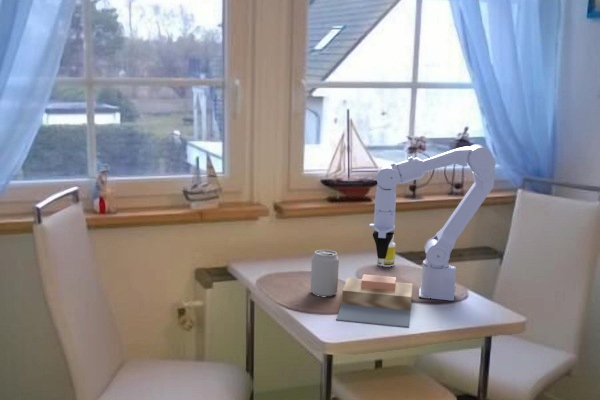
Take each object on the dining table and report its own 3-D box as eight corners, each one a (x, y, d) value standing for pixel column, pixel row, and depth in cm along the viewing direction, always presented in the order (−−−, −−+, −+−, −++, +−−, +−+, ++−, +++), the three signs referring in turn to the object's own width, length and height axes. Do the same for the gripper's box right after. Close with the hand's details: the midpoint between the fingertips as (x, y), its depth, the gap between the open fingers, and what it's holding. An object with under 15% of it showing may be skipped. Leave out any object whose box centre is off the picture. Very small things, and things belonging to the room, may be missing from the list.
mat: (410, 311, 190) (410, 310, 190) (408, 327, 178) (409, 326, 178) (341, 304, 193) (341, 303, 193) (336, 320, 181) (336, 319, 181)
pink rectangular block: (395, 284, 199) (396, 277, 199) (394, 290, 194) (395, 283, 193) (363, 281, 201) (363, 274, 200) (361, 287, 195) (361, 280, 195)
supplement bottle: (397, 264, 234) (399, 235, 232) (389, 268, 229) (391, 238, 227) (381, 261, 236) (383, 232, 235) (374, 265, 232) (376, 235, 230)
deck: (411, 297, 201) (412, 283, 201) (410, 311, 190) (411, 296, 189) (346, 291, 204) (347, 277, 204) (341, 304, 193) (342, 290, 192)
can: (328, 299, 196) (330, 257, 194) (305, 294, 200) (307, 252, 198) (342, 293, 203) (344, 251, 200) (319, 287, 206) (320, 246, 204)
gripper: (372, 204, 209) (369, 249, 212) (368, 213, 195) (365, 262, 197) (397, 205, 208) (394, 251, 210) (394, 216, 194) (391, 265, 196)
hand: (381, 257), depth 204 cm, fingers closed
